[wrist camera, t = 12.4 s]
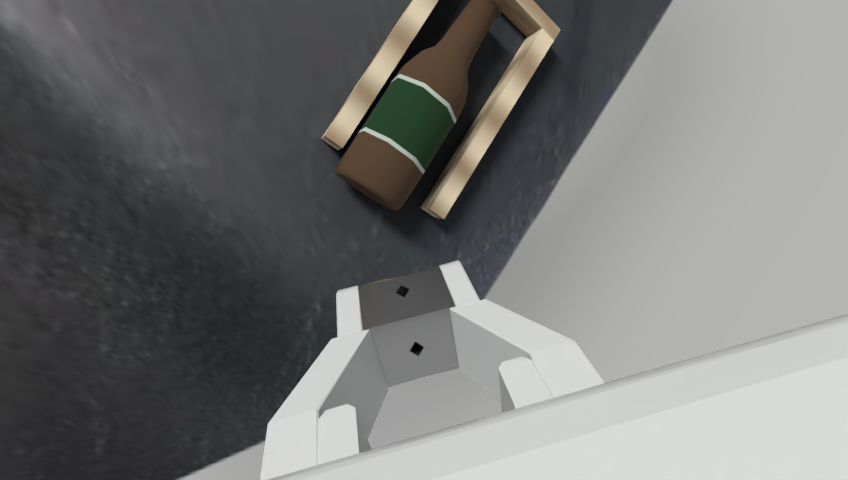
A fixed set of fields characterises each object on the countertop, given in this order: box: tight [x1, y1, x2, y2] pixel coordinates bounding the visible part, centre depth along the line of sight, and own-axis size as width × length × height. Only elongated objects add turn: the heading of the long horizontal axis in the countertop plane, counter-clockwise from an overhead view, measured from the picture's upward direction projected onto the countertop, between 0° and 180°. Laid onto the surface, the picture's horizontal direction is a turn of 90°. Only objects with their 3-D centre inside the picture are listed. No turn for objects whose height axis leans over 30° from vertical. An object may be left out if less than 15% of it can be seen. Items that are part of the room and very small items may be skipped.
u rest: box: [321, 0, 560, 219], centre depth 45 cm, size 26×15×3 cm, turn 147°
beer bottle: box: [335, 0, 503, 211], centre depth 42 cm, size 8×8×24 cm
